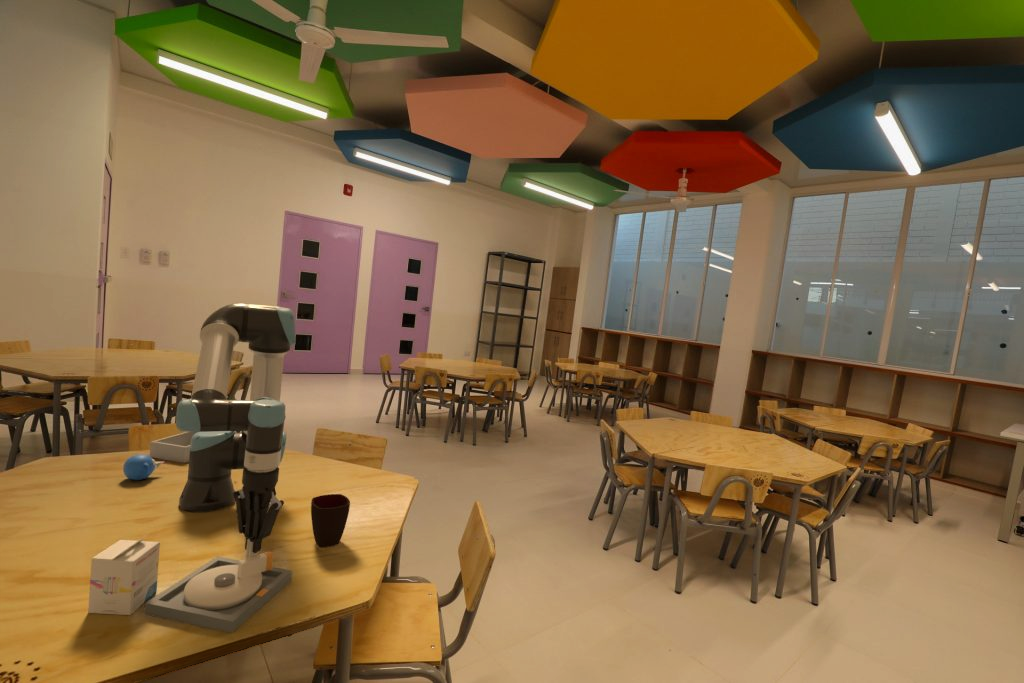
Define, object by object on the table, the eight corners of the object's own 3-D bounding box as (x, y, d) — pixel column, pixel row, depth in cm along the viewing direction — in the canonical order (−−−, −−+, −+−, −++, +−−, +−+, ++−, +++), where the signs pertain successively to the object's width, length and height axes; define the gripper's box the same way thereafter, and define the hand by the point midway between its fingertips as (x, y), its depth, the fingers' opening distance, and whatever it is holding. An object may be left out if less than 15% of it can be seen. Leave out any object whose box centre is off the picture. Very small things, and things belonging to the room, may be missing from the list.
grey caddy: (149, 457, 185) (150, 441, 185) (196, 442, 208) (197, 428, 208) (184, 462, 183) (185, 447, 183) (228, 447, 206) (229, 433, 206)
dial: (198, 619, 97) (200, 594, 97) (173, 587, 107) (175, 564, 107) (284, 587, 111) (286, 565, 111) (256, 561, 120) (257, 540, 120)
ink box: (117, 589, 106) (121, 530, 106) (157, 591, 107) (161, 533, 106) (86, 613, 98) (90, 550, 97) (130, 616, 98) (134, 552, 98)
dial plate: (144, 614, 99) (145, 602, 99) (216, 565, 119) (217, 555, 119) (232, 633, 97) (233, 620, 97) (291, 580, 117) (292, 569, 116)
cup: (313, 554, 129) (317, 510, 129) (300, 532, 140) (304, 492, 140) (350, 546, 135) (354, 505, 135) (335, 526, 146) (338, 487, 146)
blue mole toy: (172, 478, 168) (173, 454, 167) (130, 487, 158) (132, 461, 157) (156, 469, 174) (158, 446, 174) (116, 477, 164) (117, 452, 164)
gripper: (226, 465, 111) (216, 563, 112) (271, 477, 107) (260, 579, 109) (253, 457, 118) (243, 549, 119) (295, 468, 114) (284, 564, 116)
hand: (251, 563), depth 114 cm, fingers closed
